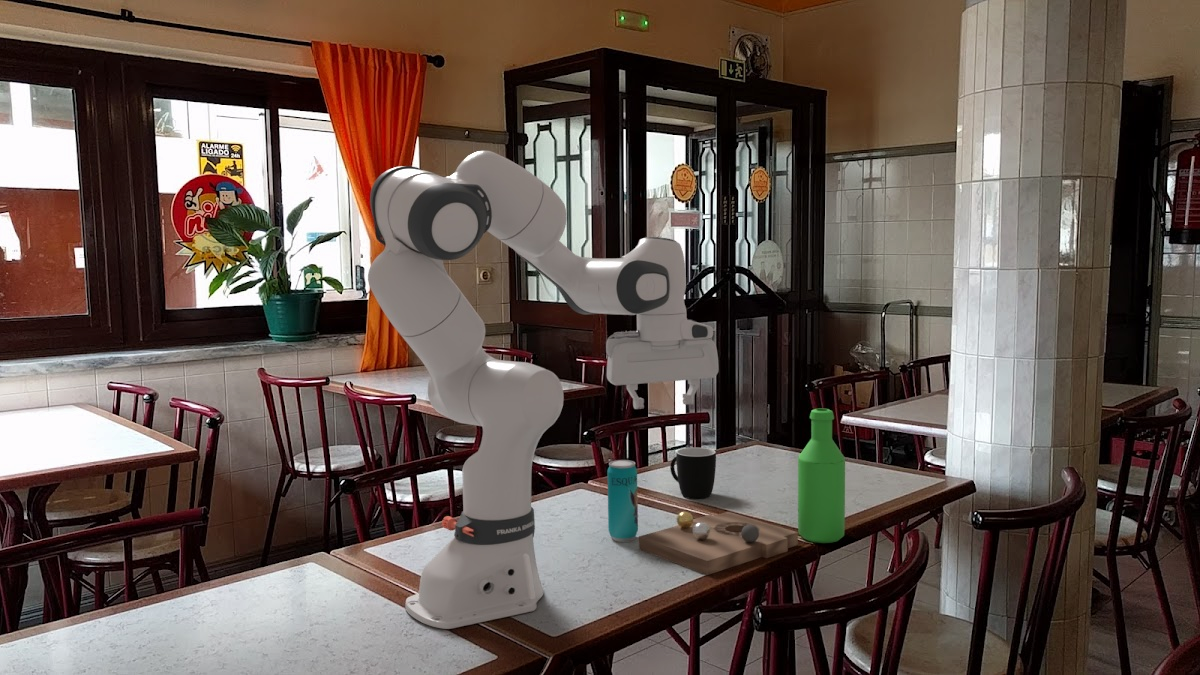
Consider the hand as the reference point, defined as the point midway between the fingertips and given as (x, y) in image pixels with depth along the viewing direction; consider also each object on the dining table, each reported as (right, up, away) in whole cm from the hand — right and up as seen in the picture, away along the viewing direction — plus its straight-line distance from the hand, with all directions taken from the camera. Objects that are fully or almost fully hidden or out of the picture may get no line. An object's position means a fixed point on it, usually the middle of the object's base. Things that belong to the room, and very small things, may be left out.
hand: (663, 406), depth 164 cm
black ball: (+16, -24, +4) cm, 29 cm away
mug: (+9, -24, +46) cm, 53 cm away
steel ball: (+7, -24, +6) cm, 25 cm away
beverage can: (-7, -27, +15) cm, 32 cm away
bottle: (+31, -27, +14) cm, 43 cm away
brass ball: (+5, -23, +13) cm, 27 cm away
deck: (+11, -27, +9) cm, 31 cm away
